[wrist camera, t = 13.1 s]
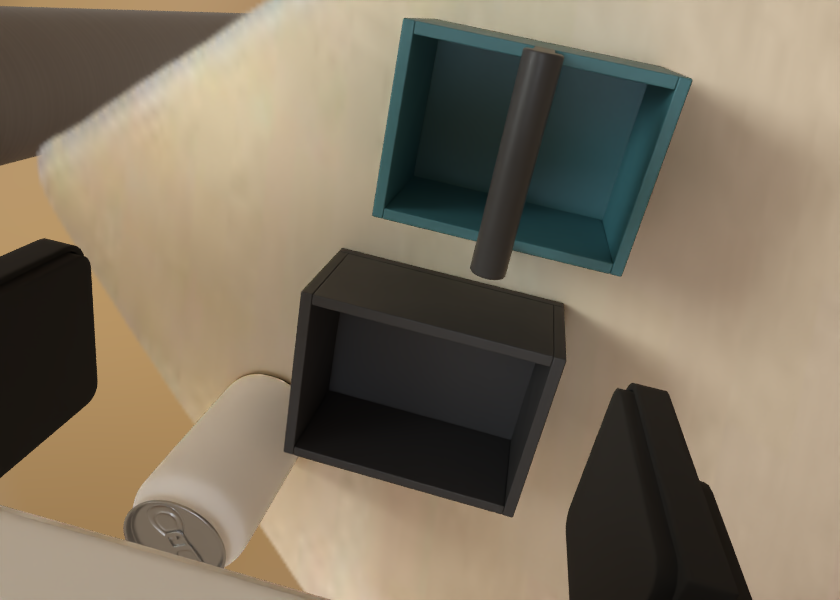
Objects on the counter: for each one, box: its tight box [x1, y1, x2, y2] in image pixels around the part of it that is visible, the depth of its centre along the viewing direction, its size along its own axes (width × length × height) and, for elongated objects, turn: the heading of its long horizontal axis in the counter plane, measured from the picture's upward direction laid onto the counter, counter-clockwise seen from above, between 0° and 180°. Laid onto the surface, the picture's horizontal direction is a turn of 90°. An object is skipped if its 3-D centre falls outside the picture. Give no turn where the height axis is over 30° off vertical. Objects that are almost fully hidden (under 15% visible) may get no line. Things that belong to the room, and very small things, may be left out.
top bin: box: [372, 18, 692, 280], centre depth 27 cm, size 11×8×11 cm
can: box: [124, 374, 298, 568], centre depth 37 cm, size 6×6×12 cm
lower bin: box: [284, 248, 566, 517], centre depth 35 cm, size 13×10×7 cm
